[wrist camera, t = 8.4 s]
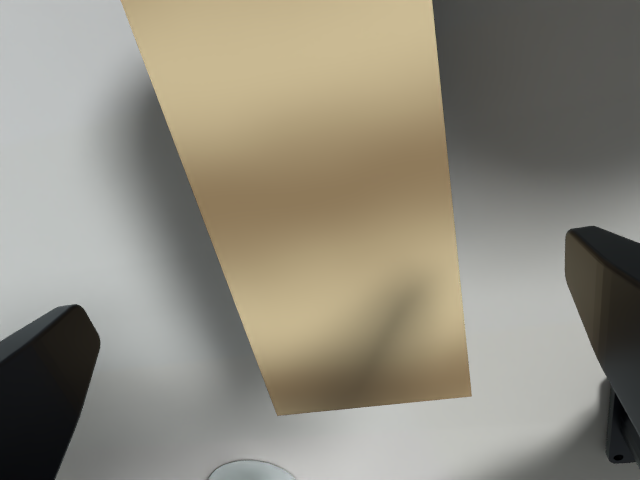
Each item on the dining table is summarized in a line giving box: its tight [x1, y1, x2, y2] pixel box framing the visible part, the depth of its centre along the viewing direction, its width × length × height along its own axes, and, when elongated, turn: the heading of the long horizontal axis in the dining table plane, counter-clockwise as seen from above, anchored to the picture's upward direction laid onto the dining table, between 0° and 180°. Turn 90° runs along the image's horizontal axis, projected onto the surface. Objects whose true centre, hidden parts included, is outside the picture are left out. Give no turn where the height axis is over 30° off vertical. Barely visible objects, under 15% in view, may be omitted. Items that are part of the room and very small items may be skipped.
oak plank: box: [121, 0, 472, 416], centre depth 13 cm, size 14×6×3 cm, turn 12°
